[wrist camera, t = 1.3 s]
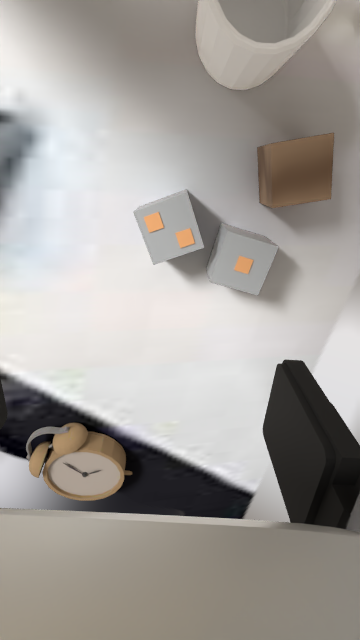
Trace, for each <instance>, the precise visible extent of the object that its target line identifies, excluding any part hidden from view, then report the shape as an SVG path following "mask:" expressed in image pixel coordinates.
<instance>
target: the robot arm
mask: <svg viewBox="0 0 360 640" xmlns="http://www.w3.org/2000/svg"><path fill="white" fill-rule="evenodd" d="M6 419H7V408H6V403H5V398H4V394H3V389H2V384H1V379H0V429H1V428H2V426H3V425H4V423H5V422H6ZM263 435H264V439H265V442H266V445H267V449H268V452H269V455H270V458H271V461H272V464H273V467H274V471H275V474H276V477H277V480H278V483H279V486H280V489H281V493H282V496H283V499H284V502H285V506H286V509H287V512H288V515H289V518H290V522H291V523H288V522H273V521H259V520H245V519H227V518H207V517H187V516H167V515H148V514H127V513H126V514H125V513H105V512H81V511H60V510H37V509H13V508H12V509H11V508H0V640H360V445H359V444H358V442H357V441H356V439H355V438H354V436H353V435H352V433H351V432H350V430H349V429H348V427H347V426H346V424H345V423H344V421H343V420H342V418H341V417H340V415H339V413H338V412H337V410H336V409H335V407H334V406H333V405H332V404H331V403H330V402H329V400H328V399H327V397H326V396H325V394H324V392H323V391H322V389H321V388H320V386H319V385H318V384H317V382H316V380H315V379H314V377H313V376H312V374H311V373H310V371H309V369H308V368H307V366H306V365H305V363H304V362H303V361H298V360H284V361H283V363H282V364H278V365H277V367H276V372H275V376H274V380H273V385H272V389H271V393H270V398H269V402H268V407H267V411H266V415H265V420H264V424H263Z"/></svg>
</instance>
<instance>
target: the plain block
mask: <svg viewBox="0 0 360 640" xmlns="http://www.w3.org/2000/svg"><path fill="white" fill-rule="evenodd" d="M333 145H334V133H329V134H324V135H318V136H312V137H306V138H300V139H294V140H288V141H283V142H277V143H271V144H268V145H264V146H261V147H257V152H258V176H259V199H260V203H261V204H264V205H266V206H269V207H271V208H277V207H283V206H289V205H296V204H302V203H308V202H315V201H321V200H327V199H331V186H332V166H333Z"/></svg>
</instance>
